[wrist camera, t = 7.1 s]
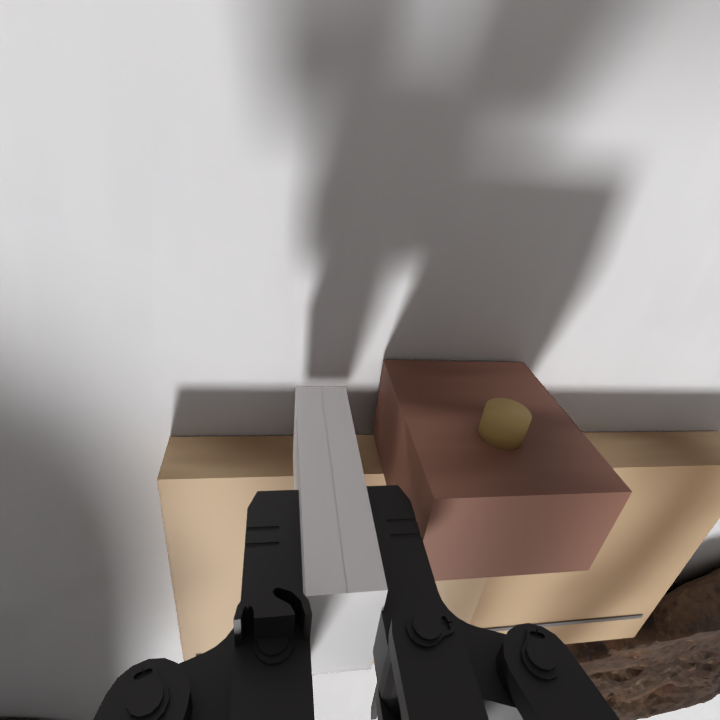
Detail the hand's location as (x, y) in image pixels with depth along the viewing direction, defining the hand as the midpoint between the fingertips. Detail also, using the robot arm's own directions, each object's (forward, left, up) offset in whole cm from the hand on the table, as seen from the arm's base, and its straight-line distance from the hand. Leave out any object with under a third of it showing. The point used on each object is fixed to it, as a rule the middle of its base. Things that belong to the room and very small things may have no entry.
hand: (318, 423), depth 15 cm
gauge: (+5, -5, -2) cm, 7 cm away
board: (+6, -8, -2) cm, 10 cm away
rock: (+20, -17, -2) cm, 27 cm away
